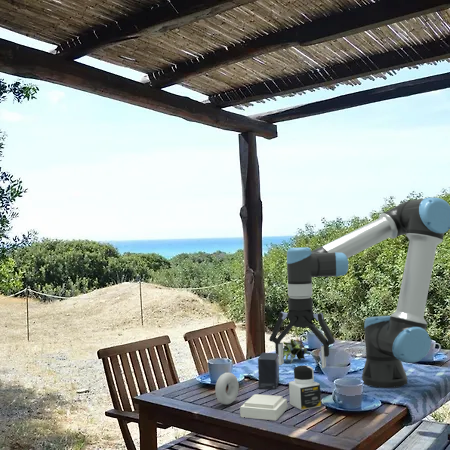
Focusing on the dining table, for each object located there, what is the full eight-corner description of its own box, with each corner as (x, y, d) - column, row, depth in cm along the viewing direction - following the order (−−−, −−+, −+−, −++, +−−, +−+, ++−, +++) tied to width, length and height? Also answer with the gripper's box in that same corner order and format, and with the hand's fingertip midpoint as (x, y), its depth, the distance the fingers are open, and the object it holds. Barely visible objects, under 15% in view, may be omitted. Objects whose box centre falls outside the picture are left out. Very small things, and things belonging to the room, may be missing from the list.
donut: (233, 399, 179) (232, 368, 179) (241, 400, 177) (240, 369, 177) (213, 407, 171) (212, 375, 171) (222, 409, 169) (220, 377, 169)
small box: (277, 389, 188) (275, 359, 188) (258, 389, 189) (257, 358, 189) (280, 381, 198) (278, 352, 198) (262, 381, 199) (261, 352, 200)
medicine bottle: (301, 410, 164) (299, 370, 164) (289, 404, 171) (287, 366, 171) (321, 406, 167) (319, 367, 167) (308, 400, 174) (307, 362, 174)
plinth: (287, 408, 167) (286, 395, 167) (276, 420, 156) (275, 406, 157) (253, 405, 171) (252, 392, 171) (240, 417, 161) (240, 403, 161)
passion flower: (299, 373, 229) (315, 349, 228) (290, 374, 219) (307, 350, 218) (279, 355, 234) (294, 333, 233) (269, 356, 225) (285, 333, 224)
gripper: (342, 296, 168) (344, 365, 168) (266, 295, 178) (268, 360, 177) (337, 299, 161) (340, 371, 161) (258, 297, 171) (260, 365, 171)
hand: (302, 365), depth 169 cm, fingers open, 13 cm apart
